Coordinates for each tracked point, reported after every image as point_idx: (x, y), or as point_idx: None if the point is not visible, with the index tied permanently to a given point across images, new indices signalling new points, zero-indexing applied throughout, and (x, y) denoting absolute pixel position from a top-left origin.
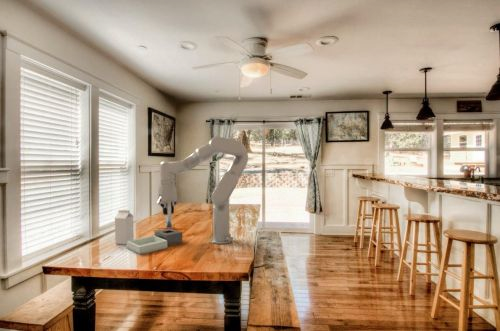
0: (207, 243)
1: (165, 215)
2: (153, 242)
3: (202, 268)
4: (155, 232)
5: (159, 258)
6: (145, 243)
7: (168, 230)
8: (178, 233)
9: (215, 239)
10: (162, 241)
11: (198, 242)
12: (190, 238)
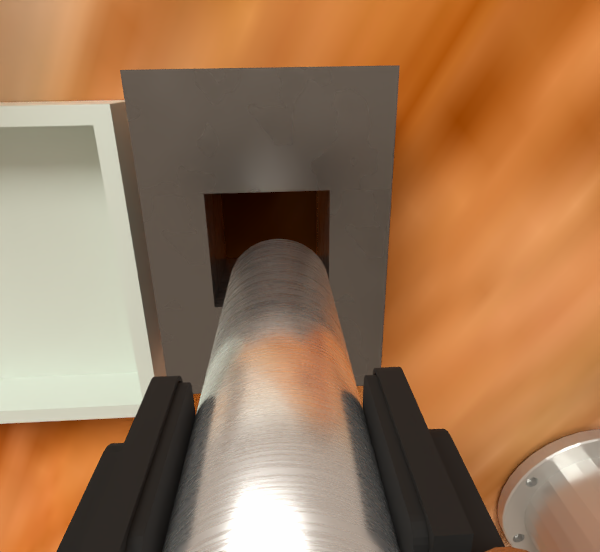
0: (473, 473)
1: (201, 395)
2: (101, 180)
3: None
4: (129, 108)
5: (33, 527)
6: (9, 149)
7: (308, 189)
8: None
9: (531, 523)
10: (107, 414)
11: (449, 413)
12: (499, 262)
